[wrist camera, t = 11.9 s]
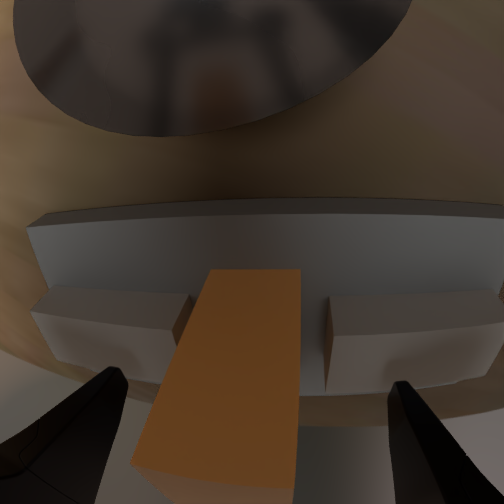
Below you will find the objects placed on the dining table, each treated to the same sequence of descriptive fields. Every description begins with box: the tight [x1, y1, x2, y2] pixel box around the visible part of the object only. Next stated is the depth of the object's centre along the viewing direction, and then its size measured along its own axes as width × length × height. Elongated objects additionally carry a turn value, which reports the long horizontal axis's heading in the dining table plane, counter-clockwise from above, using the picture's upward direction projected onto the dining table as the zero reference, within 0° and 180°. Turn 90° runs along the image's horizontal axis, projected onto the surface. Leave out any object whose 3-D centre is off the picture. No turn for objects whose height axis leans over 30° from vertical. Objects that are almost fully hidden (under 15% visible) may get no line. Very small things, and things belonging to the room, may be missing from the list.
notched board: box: [26, 198, 504, 396], centre depth 11 cm, size 20×9×4 cm, turn 94°
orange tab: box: [130, 269, 301, 504], centre depth 8 cm, size 3×5×7 cm, turn 5°
